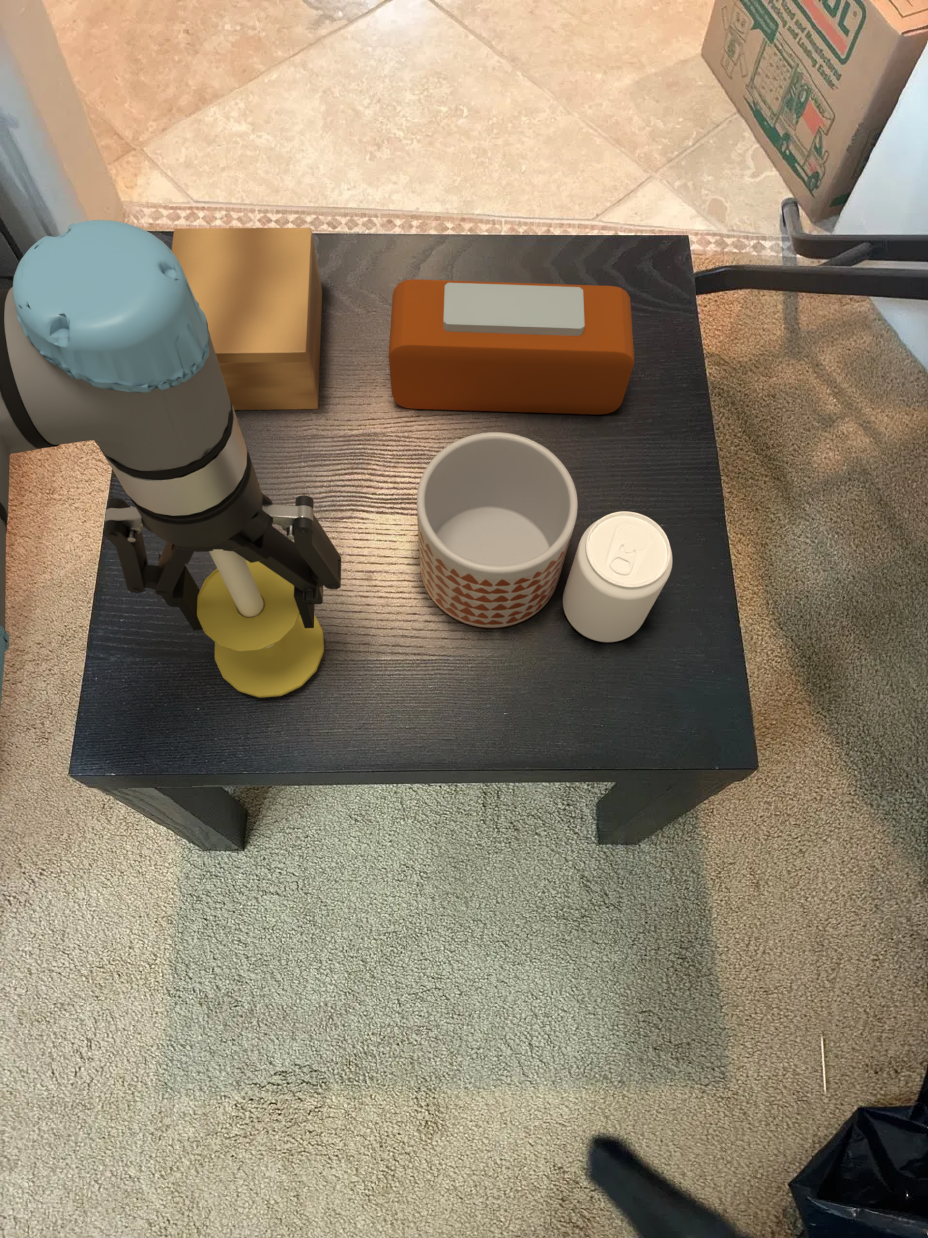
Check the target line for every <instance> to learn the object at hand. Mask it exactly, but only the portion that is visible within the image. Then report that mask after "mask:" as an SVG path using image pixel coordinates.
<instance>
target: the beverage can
mask: <svg viewBox="0 0 928 1238" xmlns="http://www.w3.org/2000/svg"><path fill="white" fill-rule="evenodd" d="M672 568H673V551H672V548H671V544H670V540H669V538H668V536H667V534H666V532H665V531H664V529H663V528H662V527H661V526H660V525H659V524H658V523H657V522H656V521H655V520H653V519H651V517H648V516H647V515H645V514H641V513H638V512H633V511H626V510H625V511H623V510H622V511H615V512H612V513H609V514H606V515H604V516H602V517H601V518H599V519H598V520H596V521H594V522H593V523H592V524H590V525H589V526H588V527H587V528H586V530H585V531H584V532H583V534H582V535H581V537H580V539H579V542H578V544H577V548H576V552H575V554H574V557H573V562H572V564H571V567H570V571H569V574H568V577H567V580H566V584H565V587H564V590H563V594H562V608H563V611H564V615H565V616H566V619H567V621H568V622H569V624H570V625H571V626H572V627H573V628H574V629H575V630H576V631H577V632H578V633H579V634H581V635H582V636H583V637H586V638H587V639H589V640H593V641H596V642H600V643H615V642H619V641H623V640H625V639H628V638H630V637H631V636H633V635H634V634H635V633H636V632H637V631H638V630H640V628H641V627H642V625H643V624H644V622H645V621H646V618H647V617H648V615H649V613H650V611H651V609H652V608H653V606H654V605H655V602H656V601H657V599H658V597H659V596H660V594H661V592H662V591H663V589H664V586H665V584H666V583H667V581H668V579H669V578H670V575H671V572H672V570H673V569H672Z"/></svg>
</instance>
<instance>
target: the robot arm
mask: <svg viewBox="0 0 928 1238" xmlns="http://www.w3.org/2000/svg"><path fill="white" fill-rule="evenodd" d="M12 280H13V281H12V286H11V287H10V288H6V289H0V709H1V706H2V696H3V695H2V693H3V681H4V670H5V669H4V668H5V660H6V659H5V658H6V652H7V651H8V650H9V647H10V634H9V633H8V631H7V630H6V610H7V609H6V608H7V607H6V606H7V605H6V599H7V598H6V593H7V591H6V588H7V586H6V585H7V532H8V521H9V503H10V502H9V500H10V499H9V498H10V497H9V496H10V493H9V492H10V467H11V466H10V463H11V461H10V460H11V455H12V454H18V453H19V454H20V453H24V452H31V451H37V450H43V449H48V448H57V447H60V446H61V445H68V444H69V445H70V444H75V443H83V442H89V441H91V442H92V441H94V443H95V444H96V446H97V447H98V448H99V450H100V451H101V453H102V455H103V457H104V458H105V459H106V461H107V463H108V464H109V466H110V468H111V470H112V472H113V473H114V475H115V476H116V478H117V480H118V482H119V483H120V485H121V487H122V488H123V490H124V492H125V493H126V494H127V496H128V497H129V499H130V501H131V502H132V504H133V505H134V506H130V505H129V504H128V503H127V502H126V501H125V500H123V499H122V498H119V497H111V498H109V499H107V500H106V508H105V514H104V522H103V528H102V535H103V537H104V538H106V539H107V540H108V541H109V542H110V543H111V544H112V545H113V546H114V547H115V549H116V552H117V555H118V559H119V563H120V567H121V570H122V573H123V574H122V575H123V578H124V580H125V581H124V582H125V585H126V589H127V591H128V592H130V593H133V594H141V593H144V592H145V590H146V589H150V590H154V594H155V595H157V596H161V597H162V599H163V600H164V602H165V603H166V604H167V605H168V606H169V607H171V608H178V609H179V610H180V612H181V613H182V614H183V616H184V618H185V619H186V621H187V622H188V624H189V625H190V627H191V628H192V630H193V631H204V630H203V628H202V626H201V624H200V621H199V619H198V617H197V597H198V594H199V592H200V590H201V589H200V588H199V586H198V584H197V583H196V581H195V579H194V578H193V576H192V574H191V572H190V571H189V569H188V567H187V566H186V564H187V565H188V564H189V563H190V561H191V559H192V558H193V555H194V553H199V552H200V553H202V552H203V553H205V552H207V553H209V551H213V550H215V549H223V551H234V552H235V553H237V554H238V555H240V556H241V557H243V558H244V559H246V560H247V561H249V562H250V563H253V562H258V561H259V562H260V563H262V564H263V565H264V566H266V567H267V568H269V569H270V570H272V571H273V572H275V573H276V574H278V575H279V576H281V577H282V578H284V579H285V580H287V581H288V582H289V583H291V584H292V585H294V598H295V601H296V604H297V607H298V610H299V613H300V616H301V619H302V622H303V624H304V627H305V628H314V614H315V607H316V605H322V604H323V602H324V588H326V589H327V590H338V589H341V587H342V556H341V554H340V553H339V551H338V549H337V548H336V547H335V545H334V544H333V542H332V541H331V539H330V537H329V536H328V534H327V533H326V530H325V529H324V528H323V526H322V525H321V523H320V522H319V520H318V519H317V518H316V516H315V514H314V507H315V506H314V503H315V501H314V498H313V497H312V496H309V495H298V496H297V497H296V498H295V500H294V501H295V502H294V503H295V504H289V505H288V504H275V503H274V502H273V500H272V499H271V498H270V497H269V496H267V495H266V494H265V493H264V492H262V490H261V486H260V483H259V482H260V481H259V479H258V476H257V473H256V471H255V467H254V464H253V461H252V458H251V454H250V452H249V450H248V448H247V446H246V443H245V440H244V436H243V433H242V429H241V426H240V424H239V419H238V417H237V415H236V412H235V411H236V410H234V408H233V405H232V403H231V400H230V397H229V395H228V392H227V388H226V385H225V382H224V379H223V376H222V372H221V369H220V366H219V363H218V360H217V356H216V353H215V350H214V347H213V343H212V340H211V337H210V333H209V330H208V323H207V319H206V316H205V314H204V312H203V311H202V310H201V308H200V307H199V303H198V302H197V301H196V299H195V297H194V295H193V292H192V290H191V288H190V285H189V283H188V281H187V278H186V276H185V273H184V271H183V269H182V266H181V264H180V262H179V261H178V259H177V257H176V256H175V255H174V253H173V252H172V249H171V248H170V247H169V246H168V245H167V244H166V243H164V242H163V240H161V239H160V238H158V237H157V236H156V235H154V234H153V233H151V232H149V231H147V230H146V229H143V228H141V227H139V226H137V225H133V224H131V223H127V222H122V221H117V220H109V219H93V220H91V219H90V220H84V221H80V222H75V223H71V224H69V225H68V226H67V230H66V231H65V232H63V233H62V234H59V235H58V236H50V235H45V236H44V237H42V238H40V239H38V240H37V241H36V242H35V243H34V244H32V246H30V248H28V250H27V251H26V252H25V253H24V255H23V256H22V258H21V259H20V260H19V263H18V265H17V267H16V269H15V272H14V276H13V279H12ZM274 525H277V526H279V527H281V528H282V530H283V531H284V532H286V535H285V534H283V533H282V531H279V529H277V528H275V527H274ZM143 528H144V529H146V530H147V531H148V532H150V533H153V534H154V535H155V536H156V537H158V538H160V539H161V540H162V541H165V545H164V547H163V549H162V552H161V553H159V554H158V559H157V564H156V565H155V564H149V560H148V555H147V551H146V545H145V540H144V535H143Z"/></svg>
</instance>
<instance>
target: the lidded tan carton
mask: <svg viewBox="0 0 928 1238" xmlns="http://www.w3.org/2000/svg"><path fill="white" fill-rule="evenodd" d="M171 251H172V252H173V253H174V255H175V256H176V257H177V259H178V261H179V262H180V264H181V266H182V269H183V271H184V273H185V276H186V278H187V281H188V283H189V285H190V288H191V290H192V292H193V295H194V297H195V299H196V301H197V302H198V303H199V307H200V308H201V310H202V311H203V312H204V314H205V316H206V319H207V323H208V330H209V333H210V337H211V340H212V343H213V347H214V350H215V353H216V356H217V360H218V363H219V366H220V369H221V372H222V376H223V379H224V382H225V385H226V388H227V392H228V395H229V397H230V400H231V403H232V405H233V408H234V411H261V410H262V411H264V410H265V411H267V410H273V411H274V410H318V409H319V390H320V366H321V363H320V362H321V340H322V339H321V338H322V337H321V335H322V311H323V310H322V307H323V288H322V287H323V286H322V281H321V276H320V270H319V265H318V259H317V252H316V247H315V241H314V235H313V230H312V227H214V228H213V227H212V228H211V227H210V228H209V227H204V228H203V227H202V228H200V227H199V228H198V227H197V228H196V227H195V228H193V227H192V228H186V227H185V228H183V227H182V228H174V229H173V236H172V244H171Z"/></svg>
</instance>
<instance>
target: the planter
mask: <svg viewBox="0 0 928 1238" xmlns="http://www.w3.org/2000/svg"><path fill="white" fill-rule="evenodd" d="M416 491H417V492H416V518H417V537H418V556H419V570H420V575H421V576H420V577H421V579H422V583H423V586H424V588H425V590H426V592H427V594H428V595H429V597H430V598H431V600H432V601H433V602H434V603H435V605H436V606H437V607H438V608H439V609H441V611H443V613H445V614H447V616H449V617H451V618H453V619H455V620H456V621H458V622H461V623H463V624H467V625H469V626H473V627H476V628H482V629H483V628H484V629H500V628H505V627H511V626H514V625H518V624H520V623H522V622H524V621H526V620H528V619H530V618H532V617H533V616H535V615H536V614H537V613H539V612H540V611H541V610H542V609H543V608H544V607H545V606H546V605H547V604H548V602H549V601H550V599H551V598H552V597H553V594H554V593H555V591H556V589H557V586H558V583H559V580H560V577H561V574H562V569H563V568H564V567H563V566H564V563H565V560H566V556H567V553H568V549H569V546H570V544H571V543H570V542H571V539H572V536H573V532H574V528H575V525H576V522H577V518H578V517H577V516H578V509H579V508H578V507H579V504H578V503H579V502H578V494H577V489H576V486H575V482H574V480H573V478H572V476H571V474H570V472H569V471H568V468H567V467H566V466H565V465H564V464H563V462H562V461H561V460H560V459H559V458H558V456H557V455H555V454H554V453H553V452H552V451H551V450H549V449H548V448H547V447H545V446H543V445H542V444H541V443H539V442H536V441H534V440H533V439H530V438H528V437H524V436H522V435H519V434H515V433H509V432H498V431H490V432H489V431H488V432H481V433H475V434H471V435H467V436H465V437H463V438H460V439H458V440H455V441H453V442H452V443H450V444H448V445H446V446H445V447H444V448H443V449H442V450H440V451H439V452H438V453H437V454H436V455H435V456H434V457H433V458H432V459H431V460H430V462H429V463H428V464H427V466H426V467H425V469H424V471H423V472H422V475H421V477H420V480H419V483H418V486H417V490H416Z"/></svg>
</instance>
